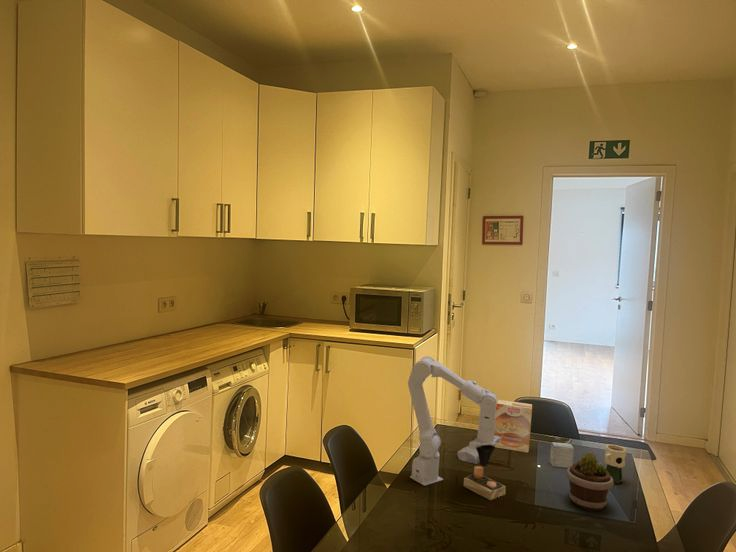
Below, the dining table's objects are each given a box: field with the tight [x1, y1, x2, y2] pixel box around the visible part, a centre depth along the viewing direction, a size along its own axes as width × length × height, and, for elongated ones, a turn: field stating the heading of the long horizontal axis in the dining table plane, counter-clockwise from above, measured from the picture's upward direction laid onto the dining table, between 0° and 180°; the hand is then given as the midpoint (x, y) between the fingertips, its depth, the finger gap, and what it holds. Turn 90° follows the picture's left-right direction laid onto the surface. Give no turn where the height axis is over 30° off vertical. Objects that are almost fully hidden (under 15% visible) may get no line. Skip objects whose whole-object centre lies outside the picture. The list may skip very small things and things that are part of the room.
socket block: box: [463, 473, 507, 501], centre depth 185 cm, size 8×12×4 cm, turn 37°
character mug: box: [604, 444, 627, 484], centre depth 200 cm, size 11×7×13 cm, turn 120°
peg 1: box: [473, 465, 484, 479], centre depth 187 cm, size 3×3×3 cm
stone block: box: [456, 445, 480, 465], centre depth 215 cm, size 12×5×10 cm
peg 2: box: [487, 481, 496, 488], centre depth 183 cm, size 3×3×3 cm
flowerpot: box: [565, 450, 615, 512], centre depth 179 cm, size 14×15×20 cm
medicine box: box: [549, 441, 575, 469], centre depth 212 cm, size 8×4×9 cm, turn 84°
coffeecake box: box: [493, 399, 533, 453], centre depth 229 cm, size 15×7×20 cm, turn 73°
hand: (483, 465), depth 185 cm, fingers closed
